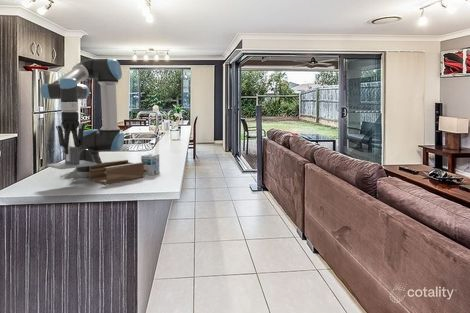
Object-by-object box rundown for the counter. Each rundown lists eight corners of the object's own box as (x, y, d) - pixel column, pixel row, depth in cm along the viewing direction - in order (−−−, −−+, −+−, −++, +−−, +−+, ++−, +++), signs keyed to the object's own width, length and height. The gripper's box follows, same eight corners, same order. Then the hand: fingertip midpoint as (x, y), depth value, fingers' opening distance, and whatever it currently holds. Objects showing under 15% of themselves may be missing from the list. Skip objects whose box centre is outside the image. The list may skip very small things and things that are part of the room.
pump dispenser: (100, 175, 213) (99, 148, 211) (87, 179, 204) (86, 150, 201) (85, 174, 217) (84, 147, 214) (71, 177, 207) (70, 149, 205)
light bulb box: (152, 175, 215) (152, 156, 214) (141, 175, 217) (140, 155, 215) (160, 172, 226) (159, 153, 224) (149, 171, 227) (148, 153, 225)
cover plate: (47, 166, 186) (46, 147, 184) (82, 162, 199) (81, 144, 198) (61, 169, 177) (60, 149, 176) (96, 164, 191) (96, 146, 190)
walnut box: (89, 180, 201) (89, 164, 200) (125, 174, 218) (125, 159, 216) (107, 184, 191) (106, 167, 190) (143, 178, 208) (143, 162, 207)
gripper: (57, 111, 176) (59, 163, 179) (89, 111, 189) (91, 159, 192) (49, 111, 181) (51, 161, 184) (81, 111, 193) (83, 158, 196)
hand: (72, 160), depth 188 cm, fingers closed on cover plate, 3 cm apart
